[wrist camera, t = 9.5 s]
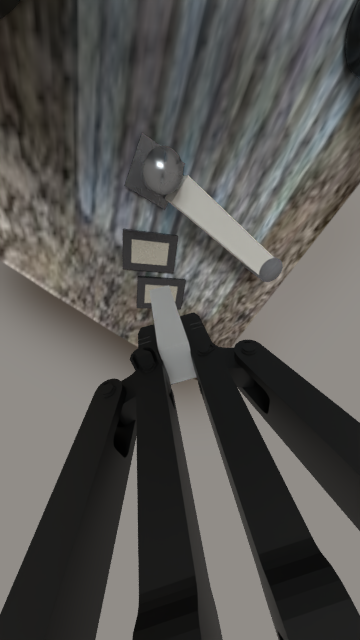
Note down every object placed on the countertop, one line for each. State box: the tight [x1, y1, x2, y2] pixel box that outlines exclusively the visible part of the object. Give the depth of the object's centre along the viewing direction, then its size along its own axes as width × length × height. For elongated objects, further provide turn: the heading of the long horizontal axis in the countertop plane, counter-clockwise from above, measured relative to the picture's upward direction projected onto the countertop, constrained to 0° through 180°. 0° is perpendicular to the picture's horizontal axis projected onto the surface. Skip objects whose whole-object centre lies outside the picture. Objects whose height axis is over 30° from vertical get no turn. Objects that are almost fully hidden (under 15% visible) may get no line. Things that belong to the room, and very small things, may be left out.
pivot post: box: [124, 133, 185, 209], centre depth 19 cm, size 5×5×9 cm
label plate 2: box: [137, 276, 186, 309], centre depth 31 cm, size 7×5×1 cm
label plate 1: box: [123, 229, 178, 273], centre depth 27 cm, size 7×5×1 cm
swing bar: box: [165, 175, 282, 282], centre depth 23 cm, size 16×3×5 cm, turn 54°
